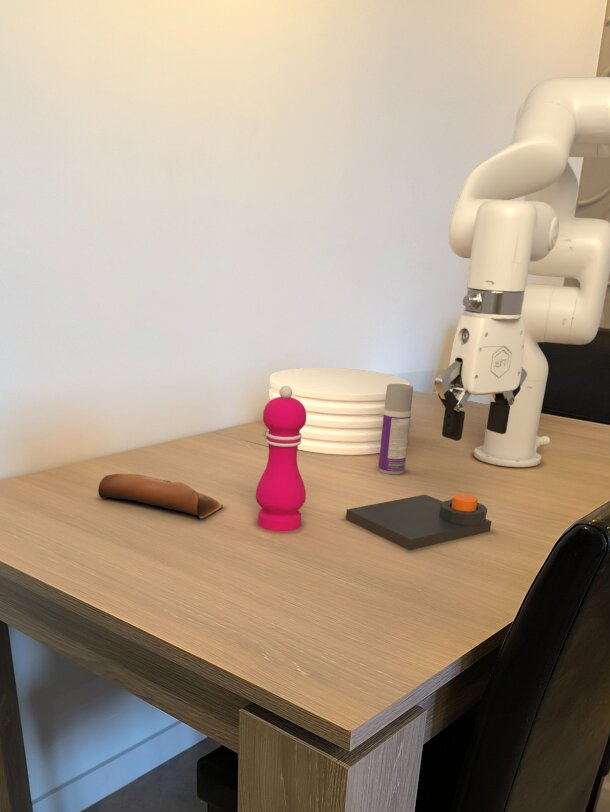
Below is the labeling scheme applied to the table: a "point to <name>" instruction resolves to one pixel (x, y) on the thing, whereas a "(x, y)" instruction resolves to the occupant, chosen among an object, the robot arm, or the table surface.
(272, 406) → the pepper mill
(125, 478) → the sunglasses case
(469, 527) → the dark grey flat block
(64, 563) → the table surface
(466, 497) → the button
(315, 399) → the plate stack
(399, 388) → the container
